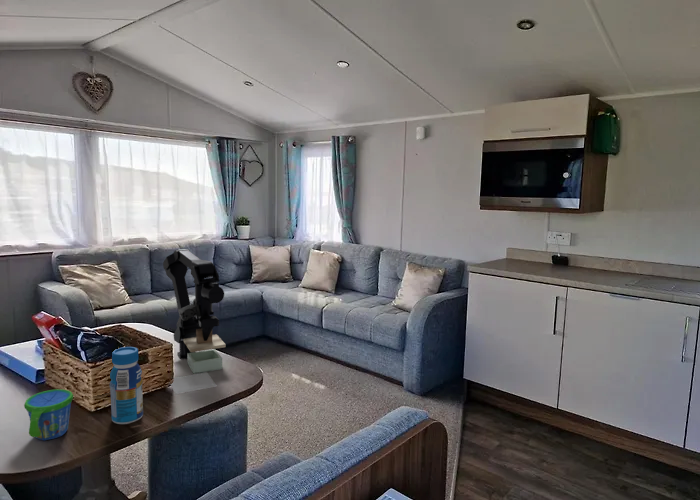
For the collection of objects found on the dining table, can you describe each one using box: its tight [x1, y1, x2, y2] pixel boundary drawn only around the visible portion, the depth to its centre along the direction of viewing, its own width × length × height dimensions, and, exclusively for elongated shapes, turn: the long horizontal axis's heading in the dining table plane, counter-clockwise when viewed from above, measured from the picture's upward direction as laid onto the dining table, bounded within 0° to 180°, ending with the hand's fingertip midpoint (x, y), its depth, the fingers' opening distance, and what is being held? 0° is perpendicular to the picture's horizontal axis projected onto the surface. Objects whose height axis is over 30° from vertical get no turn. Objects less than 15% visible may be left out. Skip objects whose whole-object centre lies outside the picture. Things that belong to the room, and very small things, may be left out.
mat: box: [170, 372, 218, 395], centre depth 158 cm, size 13×13×1 cm
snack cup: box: [23, 388, 74, 441], centre depth 124 cm, size 16×10×10 cm
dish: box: [186, 349, 223, 375], centre depth 171 cm, size 10×10×4 cm
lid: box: [184, 329, 226, 352], centre depth 170 cm, size 12×12×6 cm
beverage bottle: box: [109, 346, 144, 425], centre depth 133 cm, size 8×8×20 cm
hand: (204, 339), depth 170 cm, fingers closed on lid, 3 cm apart
